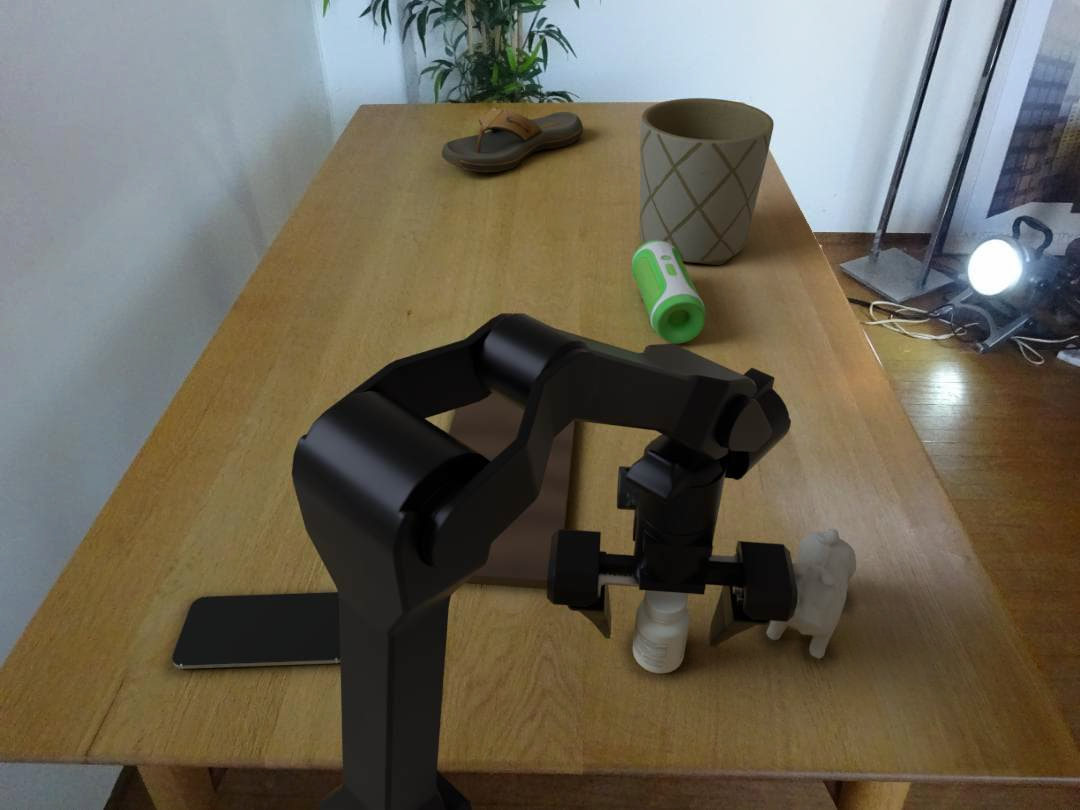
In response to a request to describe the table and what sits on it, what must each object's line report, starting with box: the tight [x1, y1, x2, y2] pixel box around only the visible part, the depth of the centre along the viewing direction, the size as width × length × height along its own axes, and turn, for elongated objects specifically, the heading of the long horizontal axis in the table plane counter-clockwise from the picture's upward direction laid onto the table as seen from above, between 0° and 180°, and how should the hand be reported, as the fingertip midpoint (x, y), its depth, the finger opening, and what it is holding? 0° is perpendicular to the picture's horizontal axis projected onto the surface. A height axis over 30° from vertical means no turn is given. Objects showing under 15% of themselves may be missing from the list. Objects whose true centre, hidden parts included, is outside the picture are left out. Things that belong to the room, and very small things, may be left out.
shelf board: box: [447, 393, 576, 590], centre depth 91 cm, size 40×14×1 cm, turn 175°
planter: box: [639, 97, 775, 266], centre depth 124 cm, size 19×19×20 cm
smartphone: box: [171, 591, 340, 670], centre depth 71 cm, size 7×1×15 cm
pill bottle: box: [632, 590, 691, 674], centre depth 67 cm, size 4×4×8 cm
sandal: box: [441, 106, 584, 173], centre depth 158 cm, size 14×34×9 cm, turn 129°
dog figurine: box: [766, 528, 857, 659], centre depth 68 cm, size 5×13×11 cm, turn 150°
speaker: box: [631, 240, 706, 345], centre depth 111 cm, size 18×7×8 cm, turn 5°
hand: (659, 638), depth 68 cm, fingers open, 8 cm apart
